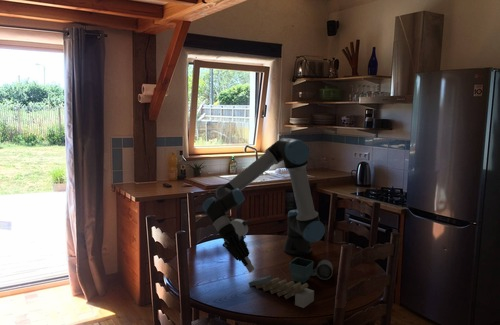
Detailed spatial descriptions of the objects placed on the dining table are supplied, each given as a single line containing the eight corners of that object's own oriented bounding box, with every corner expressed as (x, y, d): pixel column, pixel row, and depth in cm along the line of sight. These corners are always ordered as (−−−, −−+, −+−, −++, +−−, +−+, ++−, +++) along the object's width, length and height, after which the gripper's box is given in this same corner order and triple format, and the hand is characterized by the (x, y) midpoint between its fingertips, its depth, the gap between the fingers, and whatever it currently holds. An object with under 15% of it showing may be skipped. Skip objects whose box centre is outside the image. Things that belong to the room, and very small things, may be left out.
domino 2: (255, 285, 179) (272, 281, 173) (262, 281, 183) (278, 277, 177) (256, 288, 179) (273, 284, 173) (263, 285, 183) (280, 280, 177)
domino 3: (262, 288, 177) (279, 282, 171) (269, 284, 180) (286, 279, 174) (264, 291, 176) (280, 286, 170) (270, 287, 180) (287, 282, 174)
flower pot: (305, 286, 182) (306, 267, 181) (288, 281, 187) (288, 262, 185) (313, 279, 189) (314, 260, 188) (296, 275, 194) (296, 257, 193)
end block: (294, 304, 165) (295, 294, 164) (305, 298, 171) (305, 287, 170) (303, 308, 162) (303, 297, 162) (313, 300, 168) (314, 290, 168)
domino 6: (283, 296, 170) (300, 286, 164) (290, 292, 174) (306, 282, 168) (285, 299, 169) (302, 290, 164) (292, 295, 173) (308, 286, 167)
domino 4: (269, 290, 174) (286, 284, 168) (276, 286, 178) (293, 280, 172) (271, 294, 174) (288, 288, 168) (278, 290, 178) (294, 284, 172)
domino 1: (248, 282, 181) (264, 278, 175) (255, 279, 185) (271, 275, 179) (249, 286, 181) (266, 282, 175) (256, 282, 185) (272, 278, 179)
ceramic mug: (332, 273, 196) (333, 258, 195) (332, 280, 188) (332, 264, 187) (310, 272, 198) (310, 256, 198) (309, 278, 191) (309, 262, 190)
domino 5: (276, 293, 172) (293, 285, 166) (283, 289, 176) (300, 281, 170) (278, 296, 171) (295, 289, 166) (285, 292, 175) (301, 285, 169)
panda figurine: (252, 243, 238) (252, 218, 236) (241, 249, 228) (241, 223, 226) (234, 240, 244) (234, 215, 242) (223, 245, 234) (224, 220, 232)
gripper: (229, 228, 198) (256, 270, 190) (210, 235, 188) (238, 279, 180) (238, 220, 194) (265, 262, 186) (219, 226, 184) (247, 271, 176)
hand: (252, 270), depth 183 cm, fingers closed
